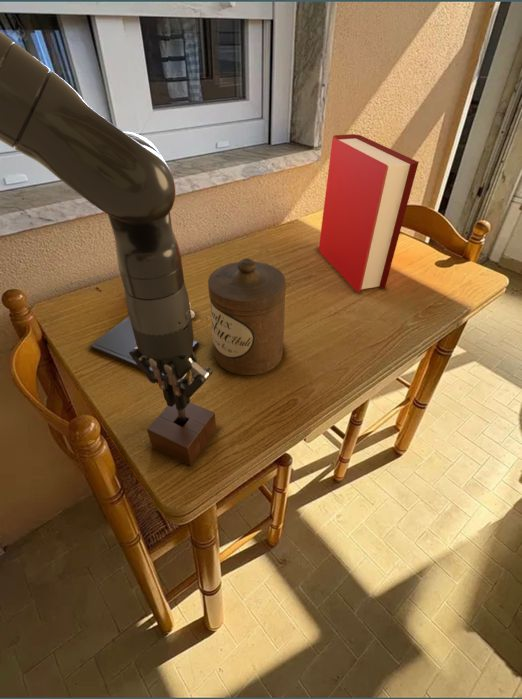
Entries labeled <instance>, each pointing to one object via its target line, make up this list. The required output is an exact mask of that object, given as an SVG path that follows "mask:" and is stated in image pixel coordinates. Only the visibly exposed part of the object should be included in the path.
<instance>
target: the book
mask: <svg viewBox="0 0 522 699" xmlns="http://www.w3.org/2000/svg"><path fill="white" fill-rule="evenodd" d="M330 146H331V148H330V155H329V162H328V172H327V180H326V188H325V195H324V204H323V212H322V219H321V227H320V236H319V244H318V252H319V253H320V254H321V255H322V256H323V258H325V259H326V260H327V262H329V263H330V265H331V266H332V267H333V268H334V269H335V270H336V271H337V272H338V274H340V275H341V277H343V279H344V280H345V281H346V282H347V283H348V284H349V285H350V286H351V288H352V289H353V290H354V291H355V292H356V293H357V294H360V292H361V291H362V290H365V289H366V290H367V289H372V288H378V287H379V288H381V289H384V290H385V289H386V285H387V283H388V278H389V274H390V271H391V267H392V263H393V259H394V256H395V252H396V248H397V246H398V241H399V239H400V238H399V237H400V233H401V230H402V226H403V222H404V219H405V215H406V211H407V208H408V207H407V206H408V204H409V199H410V197H411V193H412V190H413V185H414V181H415V177H416V173H417V170H418V167H419V161H418V160H416V159H413V158H411V157H408V156H407V155H404V154H402V153H400V152H398V151H395V150H394V149H391V148H389V147H386V146H385V145H383V144H381V143H379V142H376V141H374V140H372V139H369V138H367V137H365V136H363V135H361V134H356V133H352V134H350V133H349V134H348V133H347V134H334V135H333V136H332V140H331V145H330Z"/></svg>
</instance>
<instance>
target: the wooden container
mask: <svg viewBox="0 0 522 699" xmlns="http://www.w3.org/2000/svg"><path fill="white" fill-rule="evenodd" d="M286 284H287V283H286V276H285V275H284V273H283V272H282V271H281V270H280V269H278V268H277V267H275V266H273V265H270V264H268V263H263V262H260V261H254V259H251V258H249V257H248V258H243V259H241V260H240V261H236V262H231V263H227V264H224V265H222V266H219V267H217V268H216V269H214V270H213V271H212V272H211V273H210V275H209V276H208V279H207V287H208V296H209V305H210V316H211V320H210V321H211V334H212V342H213V352H214V358H215V360H216V362H217V363H218V365H219V366H221V368H222V369H225V370H226V371H228V372H229V373H233V374H235V375H241V376H256V375H261V374H264V373H266V372H269V371H271V370H272V369H274V368H275V367H276V366H278V364H279V363H281V362H280V361H281V360H282V358H283V352H284V351H283V350H284V335H285V308H286V305H285V304H286V290H287V289H286Z"/></svg>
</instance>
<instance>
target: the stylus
mask: <svg viewBox="0 0 522 699" xmlns="http://www.w3.org/2000/svg"><path fill="white" fill-rule="evenodd" d="M178 418H179V425H180V426H181V427H183V426H184V425H185V424H186V423H187V422H186V413H185V409H183V410H182V411H180V410H178Z"/></svg>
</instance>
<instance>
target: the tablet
mask: <svg viewBox="0 0 522 699" xmlns="http://www.w3.org/2000/svg"><path fill="white" fill-rule="evenodd" d="M136 346H137V344H136V340H135V337H134V333H133V329H132V325H131V321H130V318H129V316H127V317H126V318H124V319H123V320H121V322H119V323H118V324H117V325H115V326H113V327H112V328H111V329H110V330H108V331H107V332H106V333H104V334H103V335H102V336H100V337H99V338H98V339H96V340H95V341H94V342H92V343H91V344H90V345H89V347H90V349H91V350H94V351H96V352H99V353H100V354H104V355H106V356H108V357H111V358H113V359H116V360H118V361H121V362H122V363H125V364H127V365H130V366H132V367H135V368H136V369H140V367H139V366H138V365H137V363H136V362H135V361H134V360H133V358H132V357H131V356H130V354H129V352H130V351H131V350H133V349H134V348H135V347H136ZM198 346H199V341H197V340H194V341H193V348H192V350H193V351H194V350H195V349H196V348H197V347H198ZM149 369H150V370H151V372H152V373H153V369H152V366H150V368H149Z"/></svg>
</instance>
